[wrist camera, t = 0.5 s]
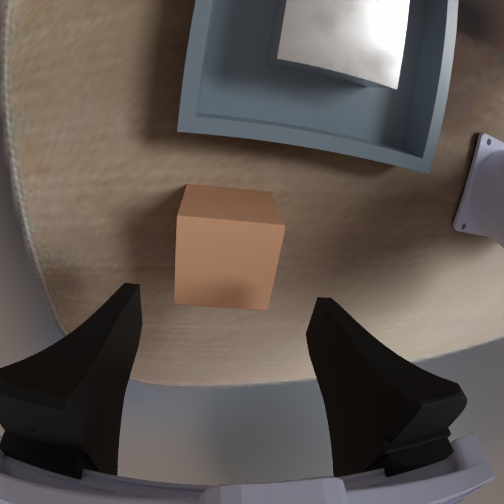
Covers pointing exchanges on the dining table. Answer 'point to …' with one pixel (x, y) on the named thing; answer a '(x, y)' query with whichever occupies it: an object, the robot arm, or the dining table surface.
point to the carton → (227, 247)
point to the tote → (316, 87)
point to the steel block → (341, 39)
